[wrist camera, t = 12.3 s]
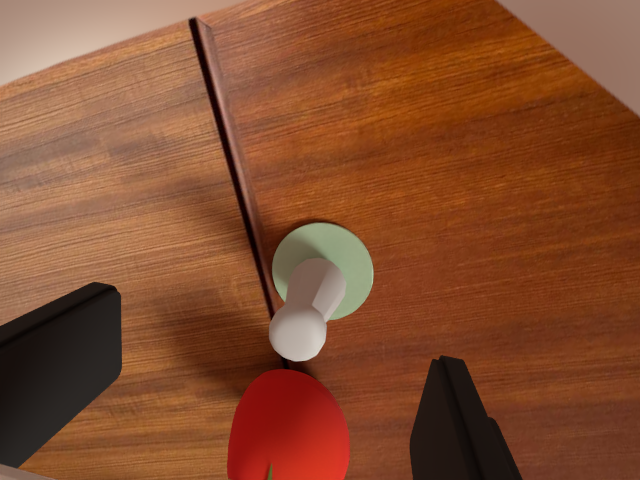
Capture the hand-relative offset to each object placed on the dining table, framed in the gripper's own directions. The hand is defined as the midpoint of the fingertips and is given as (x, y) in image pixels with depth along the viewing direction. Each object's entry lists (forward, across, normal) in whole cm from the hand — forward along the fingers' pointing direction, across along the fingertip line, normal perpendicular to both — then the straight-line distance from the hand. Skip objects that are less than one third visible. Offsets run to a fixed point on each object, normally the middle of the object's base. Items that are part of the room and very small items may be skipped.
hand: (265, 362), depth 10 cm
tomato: (+26, +1, +23) cm, 35 cm away
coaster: (+27, +1, +7) cm, 28 cm away
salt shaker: (+26, +1, +8) cm, 27 cm away
